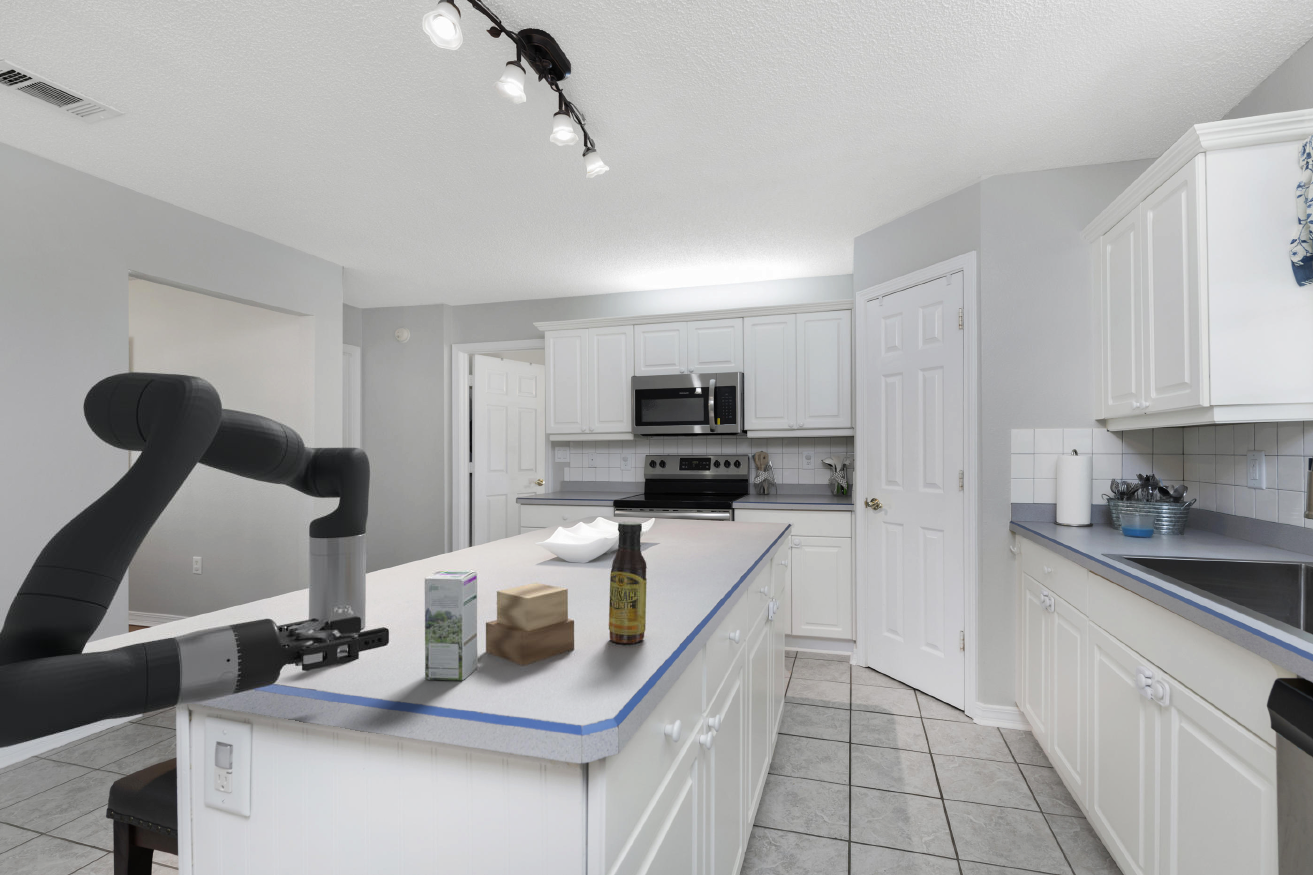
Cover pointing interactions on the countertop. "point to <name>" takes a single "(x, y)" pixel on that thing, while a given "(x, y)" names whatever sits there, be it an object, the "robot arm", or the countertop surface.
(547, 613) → the upper block
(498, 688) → the countertop surface
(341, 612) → the rook chess piece
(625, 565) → the sauce bottle
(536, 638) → the lower block
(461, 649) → the syrup box
